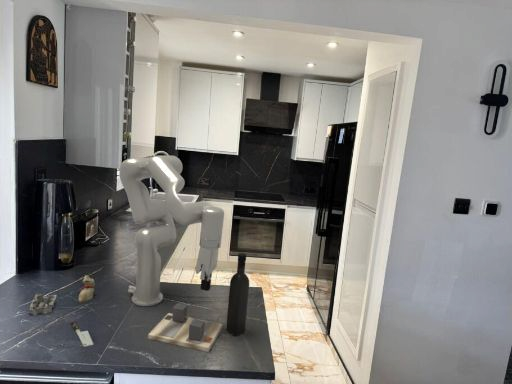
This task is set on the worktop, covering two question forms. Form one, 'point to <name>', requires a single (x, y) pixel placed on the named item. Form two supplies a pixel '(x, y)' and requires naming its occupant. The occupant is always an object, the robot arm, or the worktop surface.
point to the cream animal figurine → (87, 290)
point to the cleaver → (82, 335)
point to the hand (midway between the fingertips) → (205, 289)
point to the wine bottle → (238, 299)
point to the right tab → (196, 329)
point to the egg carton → (42, 304)
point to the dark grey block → (179, 312)
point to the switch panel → (185, 333)
